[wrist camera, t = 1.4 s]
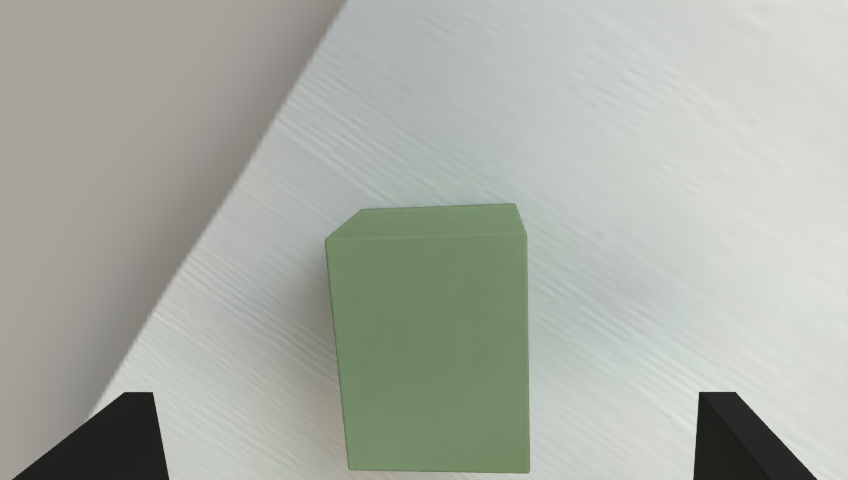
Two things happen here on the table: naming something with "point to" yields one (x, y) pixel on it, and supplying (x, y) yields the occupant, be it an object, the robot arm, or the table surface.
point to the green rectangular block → (432, 338)
